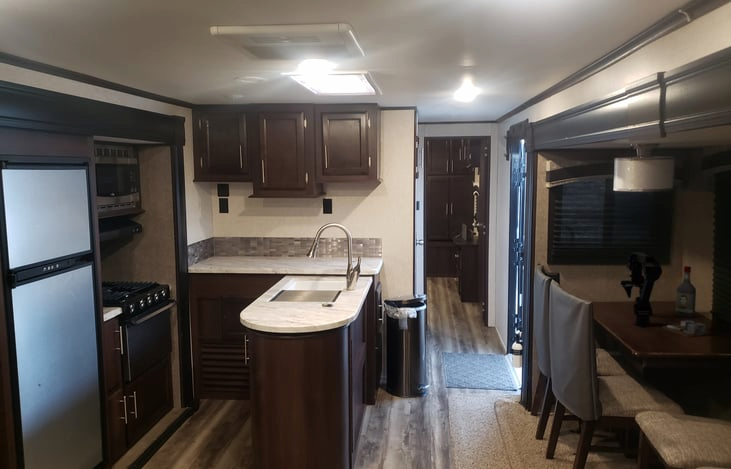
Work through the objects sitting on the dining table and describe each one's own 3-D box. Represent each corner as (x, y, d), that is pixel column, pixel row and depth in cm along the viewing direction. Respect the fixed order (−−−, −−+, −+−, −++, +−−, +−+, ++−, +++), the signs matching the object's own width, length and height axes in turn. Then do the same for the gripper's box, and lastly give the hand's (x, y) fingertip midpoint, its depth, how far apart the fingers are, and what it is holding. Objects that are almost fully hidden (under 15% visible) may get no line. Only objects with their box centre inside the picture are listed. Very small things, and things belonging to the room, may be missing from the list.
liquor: (678, 312, 329) (681, 265, 326) (695, 315, 322) (698, 266, 319) (674, 315, 322) (676, 266, 319) (691, 318, 316) (694, 268, 313)
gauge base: (687, 337, 278) (688, 326, 278) (662, 328, 294) (663, 319, 293) (708, 334, 282) (708, 324, 282) (682, 326, 298) (682, 317, 297)
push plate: (680, 330, 284) (680, 323, 284) (675, 328, 287) (675, 321, 287) (693, 328, 287) (694, 321, 287) (689, 327, 290) (689, 320, 290)
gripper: (660, 275, 305) (659, 302, 306) (635, 270, 322) (634, 295, 324) (645, 276, 301) (643, 303, 303) (620, 271, 319) (619, 296, 321)
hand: (635, 299), depth 313 cm, fingers open, 9 cm apart
